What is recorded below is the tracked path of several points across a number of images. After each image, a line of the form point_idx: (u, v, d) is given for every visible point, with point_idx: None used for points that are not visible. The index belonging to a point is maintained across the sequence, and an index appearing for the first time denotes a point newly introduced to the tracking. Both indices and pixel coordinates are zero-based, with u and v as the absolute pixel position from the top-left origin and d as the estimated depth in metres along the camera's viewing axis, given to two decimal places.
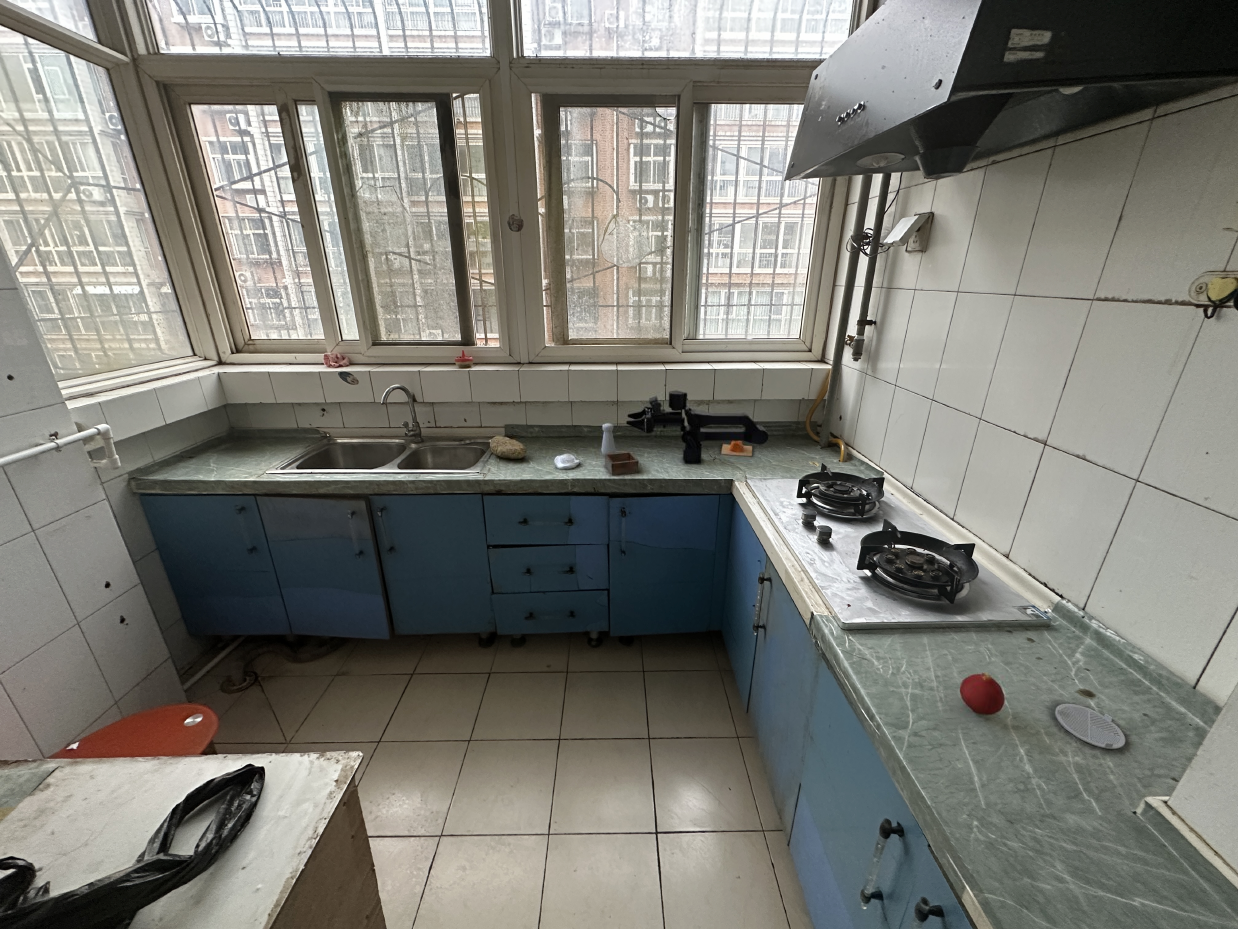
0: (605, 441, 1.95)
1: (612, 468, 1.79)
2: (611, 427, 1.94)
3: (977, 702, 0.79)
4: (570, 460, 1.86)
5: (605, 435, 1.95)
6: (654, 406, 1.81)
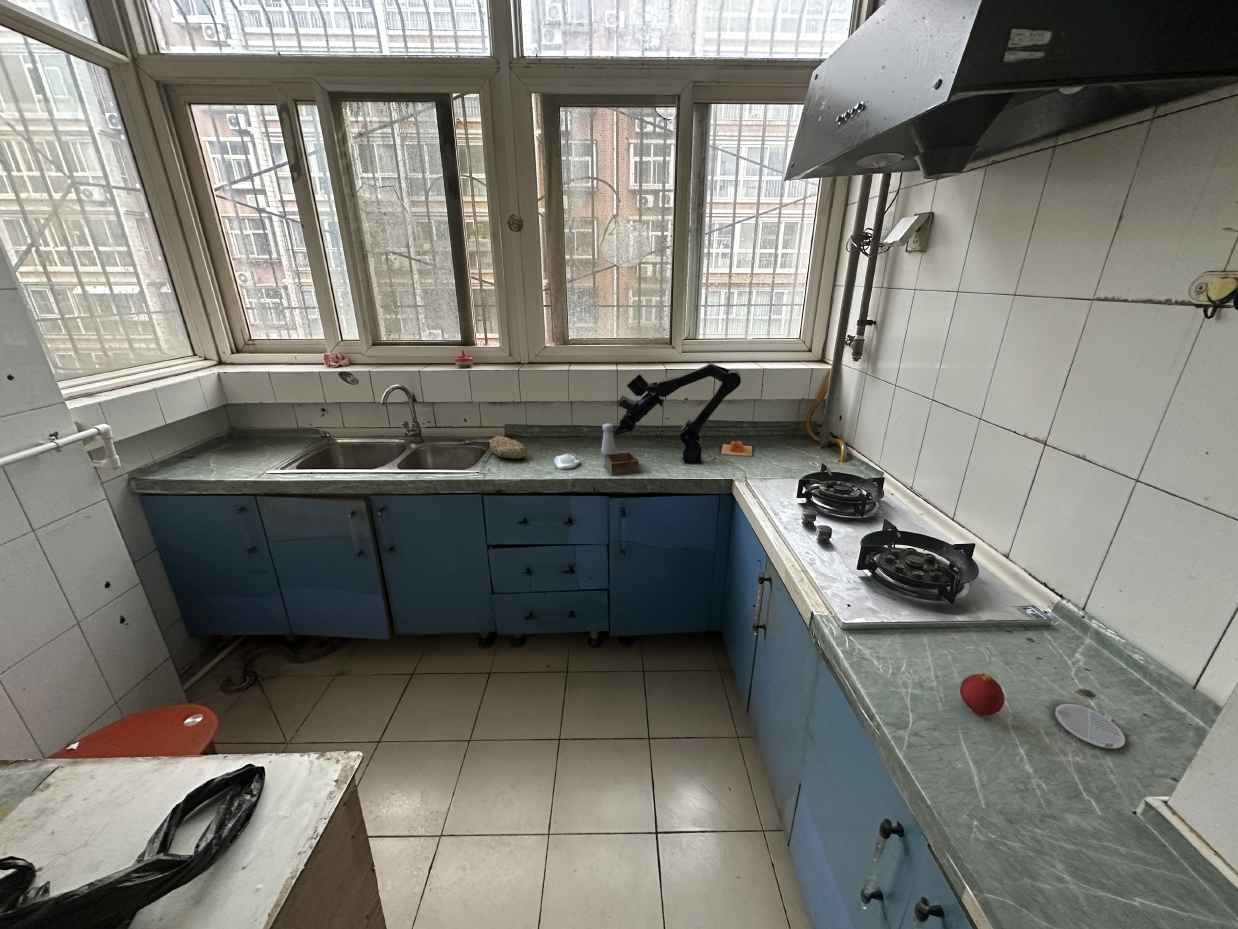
0: (605, 441, 1.95)
1: (612, 468, 1.79)
2: (611, 427, 1.94)
3: (977, 702, 0.79)
4: (570, 460, 1.86)
5: (605, 435, 1.95)
6: (622, 405, 1.86)
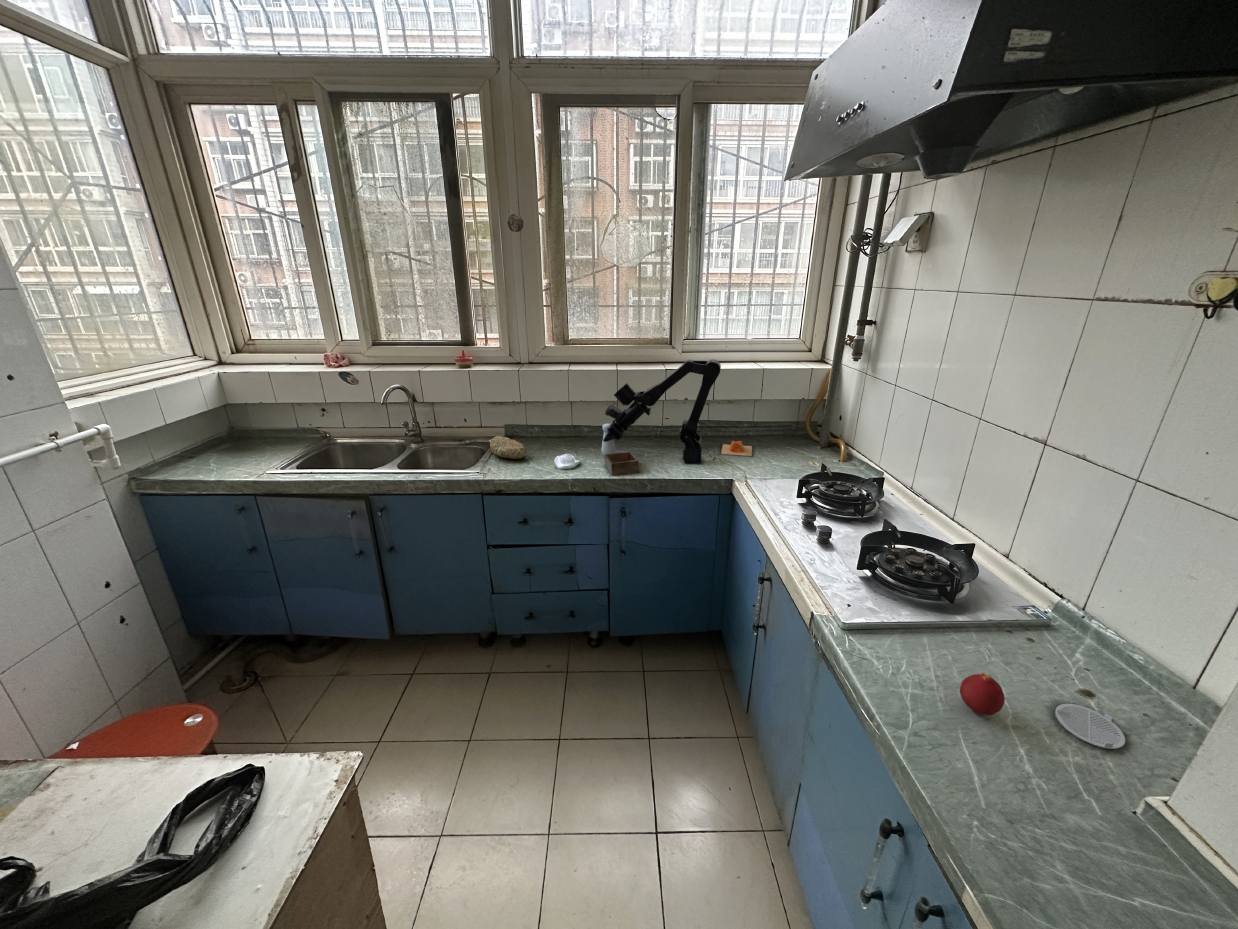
0: None
1: (612, 468, 1.79)
2: None
3: (977, 702, 0.79)
4: (570, 460, 1.86)
5: (605, 435, 1.95)
6: (609, 414, 1.89)
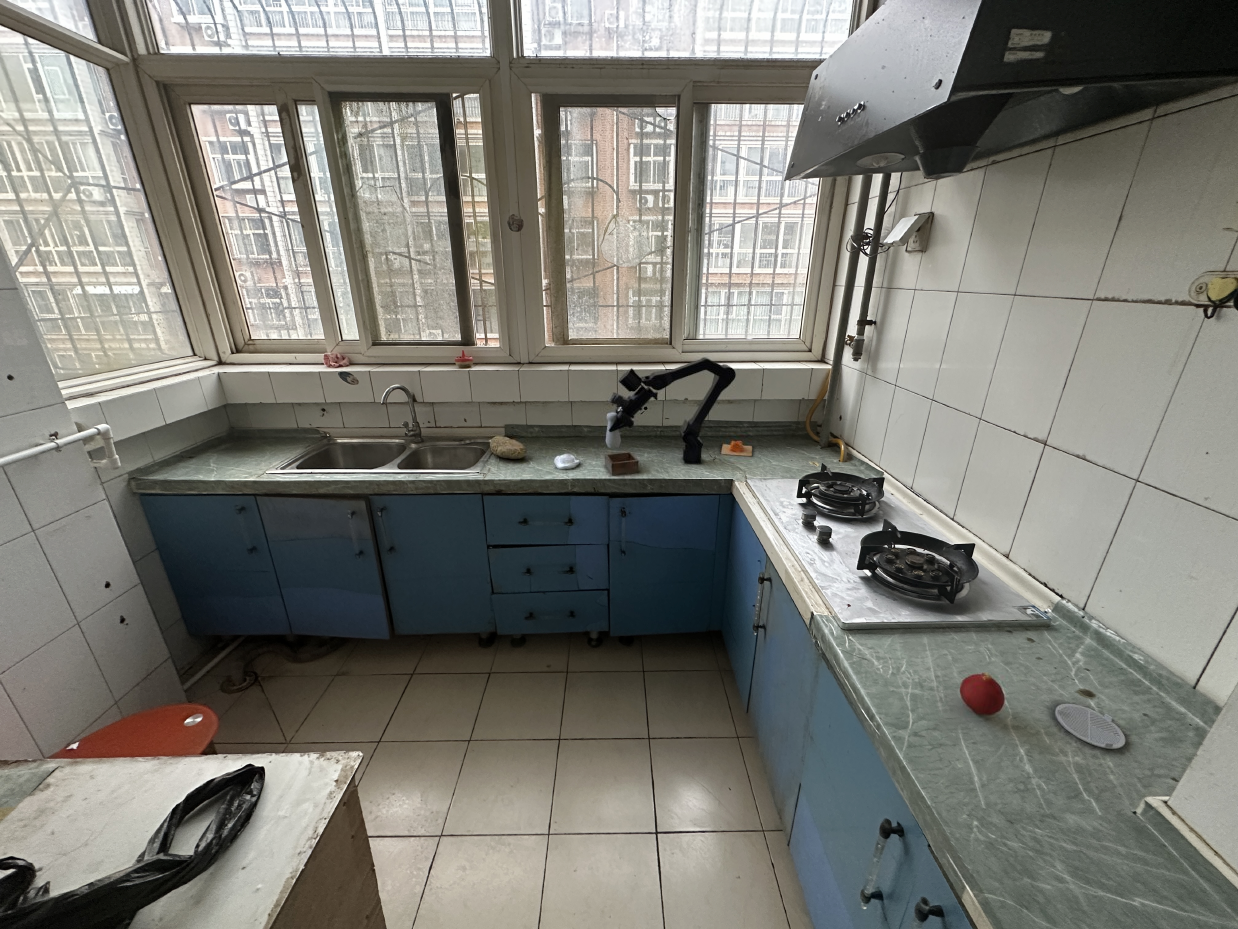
0: None
1: (612, 468, 1.79)
2: None
3: (977, 702, 0.79)
4: (570, 460, 1.86)
5: (610, 425, 1.84)
6: (617, 402, 1.78)
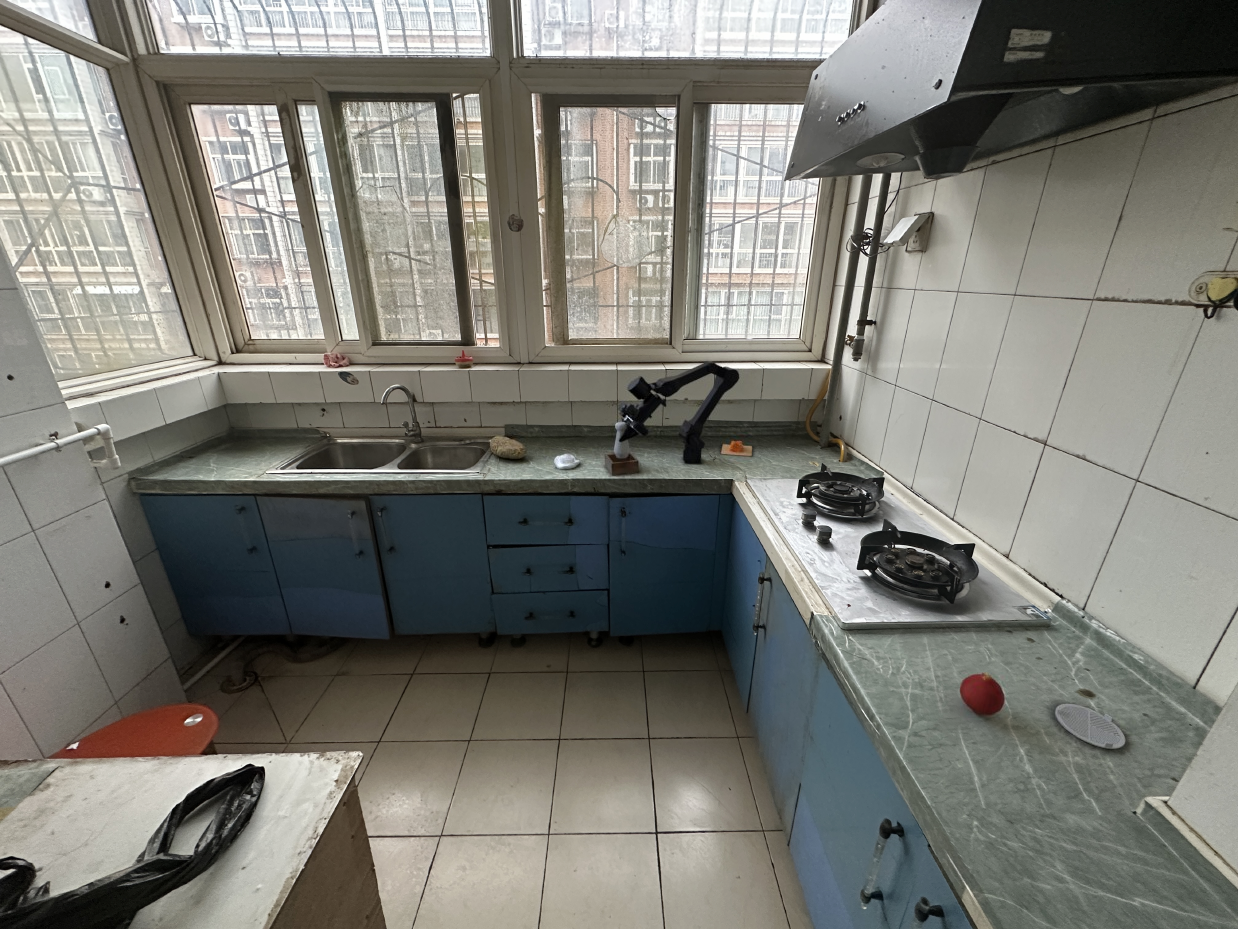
0: None
1: (612, 468, 1.79)
2: (626, 425, 1.79)
3: (977, 702, 0.79)
4: (570, 460, 1.86)
5: (620, 435, 1.79)
6: (629, 411, 1.74)
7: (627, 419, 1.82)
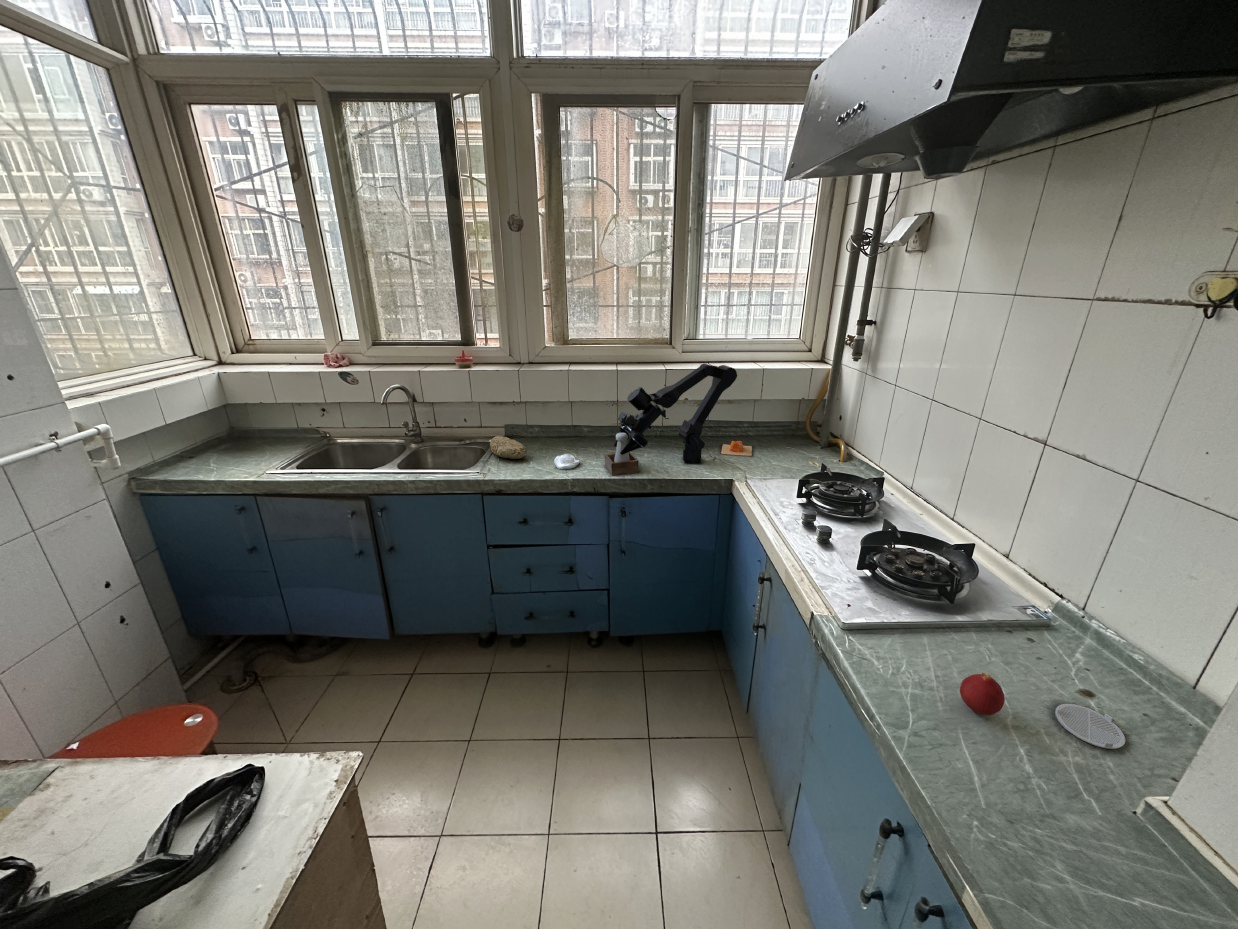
0: None
1: (612, 468, 1.79)
2: (627, 436, 1.80)
3: (977, 702, 0.79)
4: (570, 460, 1.86)
5: (621, 446, 1.80)
6: (629, 422, 1.75)
7: (625, 427, 1.86)
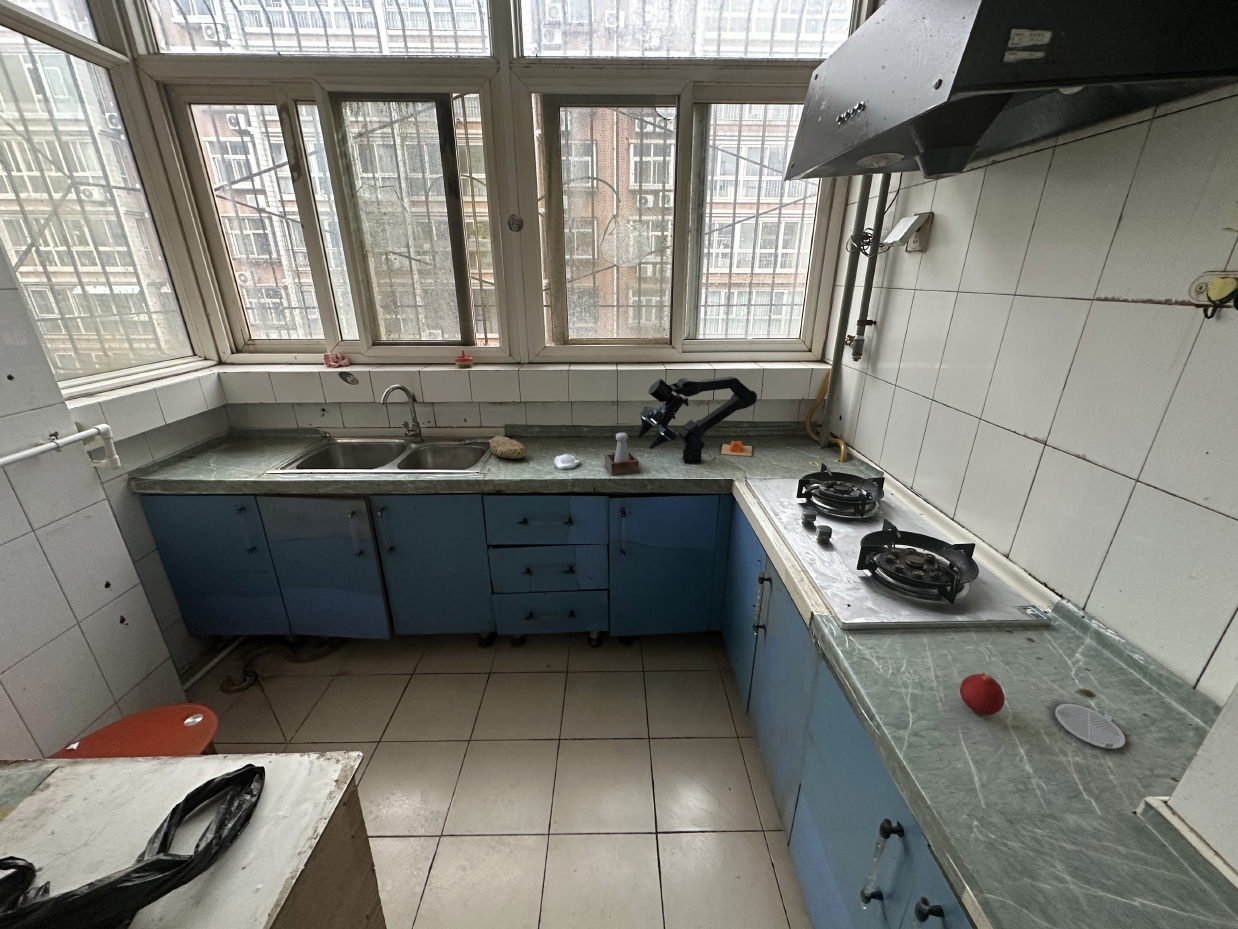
0: (621, 452, 1.81)
1: (612, 468, 1.79)
2: (627, 436, 1.80)
3: (977, 702, 0.79)
4: (570, 460, 1.86)
5: (621, 446, 1.80)
6: (656, 417, 1.76)
7: (647, 418, 1.87)
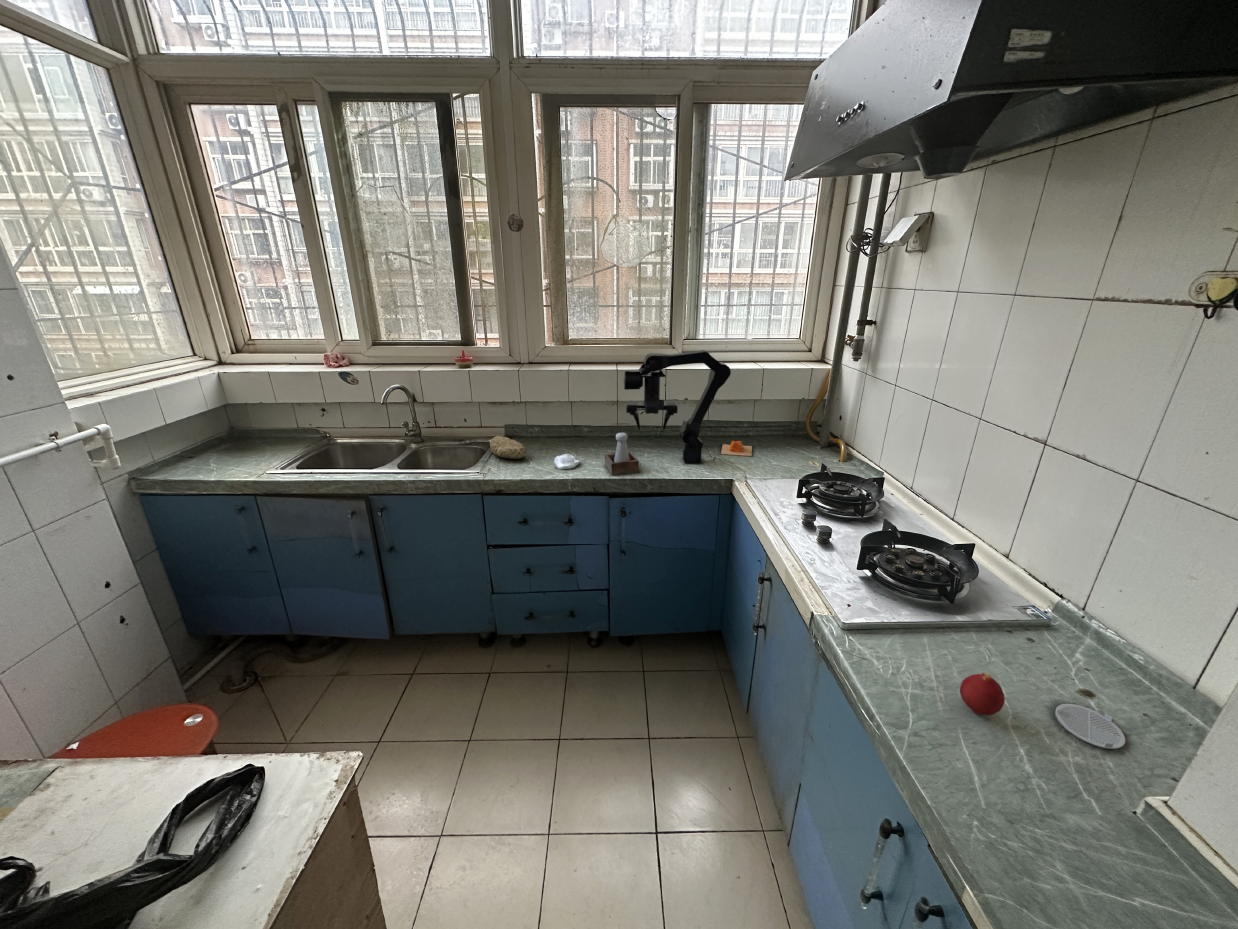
0: (621, 452, 1.81)
1: (612, 468, 1.79)
2: (627, 436, 1.80)
3: (977, 702, 0.79)
4: (570, 460, 1.86)
5: (621, 446, 1.80)
6: (663, 407, 1.77)
7: (636, 410, 1.83)
